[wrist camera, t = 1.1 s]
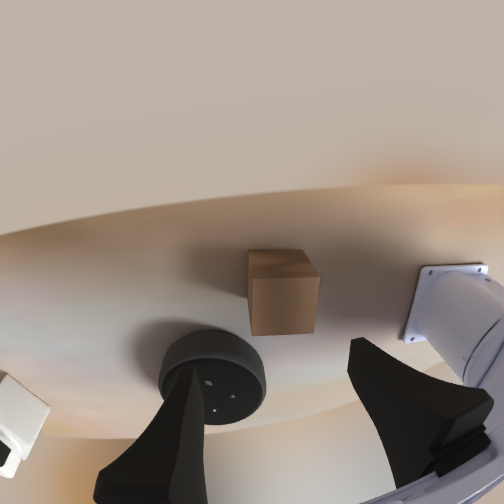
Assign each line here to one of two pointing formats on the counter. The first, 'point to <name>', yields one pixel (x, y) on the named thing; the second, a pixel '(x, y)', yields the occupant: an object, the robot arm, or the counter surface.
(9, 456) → the medicine bottle
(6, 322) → the counter surface
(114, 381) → the counter surface
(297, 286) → the walnut block
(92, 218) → the counter surface
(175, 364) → the smart speaker
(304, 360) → the counter surface
